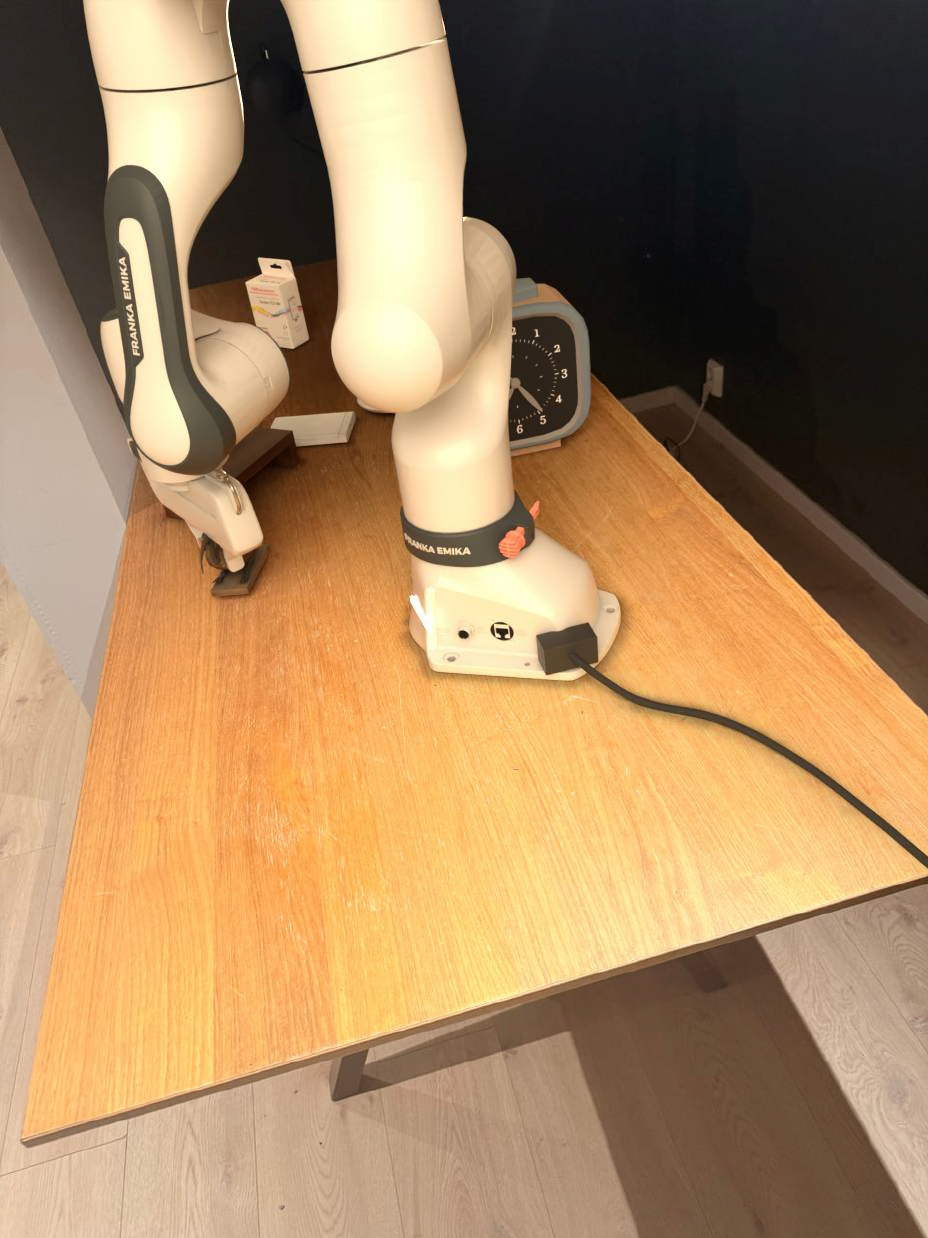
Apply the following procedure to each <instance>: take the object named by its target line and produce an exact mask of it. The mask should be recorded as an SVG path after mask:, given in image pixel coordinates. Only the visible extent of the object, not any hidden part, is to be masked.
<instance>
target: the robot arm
mask: <svg viewBox="0 0 928 1238" xmlns="http://www.w3.org/2000/svg"><path fill="white" fill-rule="evenodd" d="M279 1H280V3H281V5H282V6H283V8H284V11H285V14H286V17H287V19H288V21H289V25H290V28H291V32H292V35H293V39H294V42H295V47H296V52H297V55H298V58H299V63H300V67H301V71H302V72H303V73H302V76H303V78H304V83H305V85H306V90H307V94H308V98H309V101H310V106H311V109H312V112H313V113H312V114H313V117H314V120H315V121H314V122H315V126H316V128H317V131H318V137H319V140H320V144H321V148H322V152H323V157H324V160H325V164H326V168H327V173H328V179H329V184H330V191H331V198H332V206H333V218H334V233H335V249H336V250H335V251H336V268H337V292H338V293H337V308H336V309H337V310H336V314H335V320H334V323H333V329H332V334H331V340H330V341H331V342H330V349H331V358H332V362H333V364H334V367H335V370H336V373H337V374H338V377H339V378H340V380H341V381H342V383H343V384H344V386H345V387H346V388H347V389H348V390H349V392H351V394H353V396H355V397H356V399H357V398H358V399H360V400H361V401H362V402H364V403H365V404H367V405H369V406H371V407H373V408H375V409H378V410H381V411H385V412H391V413H390V414H394V420H393V423H392V427H391V438H390V439H391V448H392V454H393V461H394V466H395V471H396V477H397V483H398V487H399V488H398V489H399V494H400V498H401V507H400V510H399V516H400V523H401V529H402V536H403V541H404V545H405V548H406V550H407V551H408V552H409V556H410V569H411V582H412V583H411V587H412V588H411V595H410V596H409V598H410V604H411V606H410V614H409V619H408V630H409V633H410V635H411V637H412V639H413V640H414V641H415V643H416V644H417V645H418V646H419V647H420V648H421V649H422V650H423V651H424V653H425V657H426V662H427V664H428V668H429V669H430V670H431V671H434V672H436V673H447V674H459V675H461V674H462V675H477V676H490V677H506V678H521V679H533V680H534V679H535V680H550V681H563V682H565V681H567V682H568V681H569V682H570V681H571V682H572V681H575V680H578V679H579V678H581V677H584V676H585V675H586V674H588V675H589V676H590V677H592V678H593V679H595V680H596V681H598V682H599V683H600V684H602V685H604V686H605V687H607V688H608V689H609V690H611V691H612V692H614V693H615V694H617V695H619V696H620V697H622V698H623V699H626V700H627V701H630V702H632V703H634V704H637V705H639V706H642V707H645V708H648V709H651V710H655V711H660V712H664V713H668V714H669V713H670V714H675V715H681V716H686V717H687V716H688V717H693V718H698V719H702V720H707V721H710V722H713V723H716V724H719V725H721V726H724V727H728V728H730V729H732V730H734V731H736V732H739V733H741V734H743V735H745V736H747V737H750V738H751V739H754V740H755V741H757V742H759V743H761V744H763V745H764V746H766V747H768V748H769V749H771V750H773V751H774V752H776V753H778V754H779V755H781V756H782V757H784V758H786V759H787V760H788V761H790V762H792V763H793V764H796V765H797V766H798V767H800V768H801V769H803V770H805V771H806V772H808V773H809V774H810V775H812V776H813V777H815V778H816V779H818V780H819V781H820V782H822V783H823V784H824V785H826V786H827V787H828V788H830V789H831V790H832V791H833V792H835V793H836V794H837V795H838V796H839V797H840V798H843V800H844V801H846V802H847V803H848V804H850V805H851V806H852V807H853V808H855V809H856V811H858V812H859V813H861V814H862V815H863V816H864V817H866V818H867V819H868V820H869V821H871V822H872V823H873V824H874V825H875V826H877V827H878V828H879V829H880V830H881V831H883V832H884V833H885V834H887V836H889V837H890V838H891V839H892V840H894V841H895V842H896V843H897V844H898V845H900V846H901V847H902V848H903V849H904V850H905V851H906V852H907V853H908V854H910V855H911V856H912V857H913V858H914V859H915V860H916V861H918V862H919V863H920V864H921V865H923V866H924V867H925V868H926V869H928V855H927V854H926V853H925V852H924V851H922V850H921V849H920V848H919V847H918V846H916V845H915V844H914V843H913V842H912V841H911V840H910V839H908V838H907V837H906V836H905V835H904V834H903V833H901V832H900V831H899V830H898V829H896V828H895V827H894V826H893V825H892V824H891V823H890V822H888V821H887V820H886V819H884V818H883V817H882V816H880V815H879V814H878V813H877V812H876V811H874V810H873V809H872V808H870V807H869V806H868V805H867V804H865V803H864V802H863V801H862V800H860V799H859V798H858V797H857V796H855V795H854V794H853V793H851V791H849V790H848V789H847V788H845V787H844V786H843V785H842V784H840V783H839V782H838V781H837V780H835V779H834V778H832V777H831V776H830V775H828V774H826V772H824V771H823V770H822V769H820V768H818V767H817V766H816V765H814V764H813V763H811V762H810V761H809V760H807V759H805V758H804V757H802V756H801V755H798V753H795V752H794V751H792V750H790V749H789V748H787V747H786V746H784V745H782V744H781V743H779V742H777V741H776V740H774V739H772V738H771V737H769V736H767V735H765V734H764V733H761V732H759V731H757V730H756V729H754V728H752V727H749V726H747V725H745V724H743V723H740V722H738V721H736V720H733V719H731V718H728V717H726V716H723V715H720V714H718V713H715V712H710V711H706V710H702V709H698V708H691V707H686V706H680V705H673V704H668V703H664V702H658V701H655V700H652V699H648V698H645V697H642V696H639V695H637V694H634V693H633V692H631V691H629V690H627V689H626V688H624V687H622V686H621V685H619V684H617V683H616V682H614V681H613V680H611V679H610V678H608V677H607V676H606V675H604V674H603V673H601V672H600V671H598V670H597V669H596V668H595V667H597V666H598V665H599V664H600V663H601V662H602V661H603V659H604V658H605V656H606V655H607V654H608V652H609V651H610V649H611V648H612V646H613V645H614V643H615V640H616V639H617V636H618V635H619V634H618V633H619V631H620V627H621V623H622V611H621V610H622V609H621V605H620V601H619V599H618V597H617V596H616V595H615V594H614V593H612V592H608V591H606V590H602V589H599V588H598V586H597V582H596V579H595V575H594V572H593V570H592V568H591V566H590V565H589V563H588V562H587V560H585V559H583V558H582V557H581V556H579V555H578V554H576V553H574V552H573V551H571V550H570V549H568V547H565V546H564V545H563V544H561V543H560V542H558V541H557V540H555V539H553V538H552V537H551V536H549V535H548V534H546V533H545V532H544V531H542V530H541V529H539V528H538V527H536V526H535V520H536V518H537V517H538V515H539V514H540V512H541V511H540V510H541V508H539V507H540V501H539V500H537V501H536V502H534V504H533V505H532V507H531V508H530V509H527V507H526V506H525V504H524V502H523V500H522V499H521V497H520V496H519V494H518V492H517V490H516V489H515V484H514V475H513V464H512V457H511V452H510V441H509V427H508V407H509V390H510V374H511V352H512V306H513V296H514V289H515V282H516V279H517V262H516V257H515V255H514V252H513V249H512V247H511V246H510V244H509V242H508V240H507V239H506V238H505V236H504V235H503V234H502V233H501V232H500V231H499V230H498V229H497V228H496V227H494V226H493V225H492V224H490V223H488V222H486V221H484V220H481V219H478V218H474V217H470V216H464V182H465V181H464V180H465V169H466V164H467V157H468V153H467V142H466V136H465V131H464V125H463V119H462V114H461V110H460V104H459V99H458V94H457V93H458V92H457V87H456V82H455V78H454V77H455V76H454V72H453V66H452V61H451V55H450V51H449V46H448V45H449V44H448V40H447V39H448V38H447V37H446V34H447V33H446V30H445V24H444V21H443V15H442V9H441V5H440V1H439V0H279ZM82 4H83V12H84V19H85V25H86V32H87V38H88V43H89V49H90V53H91V60H92V64H93V68H94V72H95V77H96V80H97V85H98V89H99V93H100V97H101V103H102V106H103V112H104V118H105V125H106V135H107V148H108V149H107V150H108V170H107V171H108V173H107V181H106V182H107V183H106V186H105V192H104V201H103V221H104V222H103V223H104V233H105V241H106V247H107V255H108V262H109V269H110V275H111V283H112V288H113V294H114V295H113V296H114V300H115V307H114V308H112V309H110V310H109V311H108V312H107V313H105V315H104V316H103V318H102V320H101V322H100V330H99V332H100V340H101V346H102V351H103V354H104V359H105V362H106V366H107V368H108V372H109V375H110V377H111V380H112V382H113V386H114V389H115V391H116V392H117V393H116V394H117V396H118V398H119V399H120V401H121V403H122V405H123V416H124V421H125V425H126V428H127V430H128V434H129V436H130V437H127V439H126V442H127V445H128V448H129V450H130V453H131V454H132V455H133V456H134V457H135V458H136V459H137V460H139V463H140V466H141V468H142V471H143V472H144V475H145V477H146V480H147V481H148V484H149V485H150V487H151V490H152V492H153V493H154V495H155V497H156V498H157V499H158V501H159V502H160V503H161V504H162V506H163V505H164V506H166V507H167V508H169V509H170V510H172V511H173V512H174V513H176V514H177V515H178V516H180V517H181V518H183V519H184V520H183V521H184V522H185V523H186V525H187V527H188V528H189V530H190V532H191V533H192V535H193V536H194V538H195V540H196V543H197V546H198V548H199V549H201V545H202V540H203V538H202V534H203V533H205V534H206V535H207V536H208V537H209V538H210V539H212V540H213V541H215V542H216V543H217V544H219V545H220V547H221V548H223V553H224V555H222V559H223V561H224V564H225V567H226V568H228V569H229V570H230V571H232V572H236V571H238V570H240V569H242V568H243V567H244V560H243V557H242V555H244V554H246V553H248V552H250V551H252V550H254V549H256V548H257V547H259V546H261V545H263V542H264V534H263V530H262V527H261V525H260V522H259V519H258V517H257V514H256V511H255V509H254V505H253V504H252V501H251V499H250V497H249V495H248V493H247V491H246V489H245V487H244V486H243V485H241V483H240V482H239V481H237V480H236V479H234V478H233V477H231V476H230V475H228V474H227V473H226V472H224V471H223V470H222V466H223V465H224V464H225V463H226V461H227V460H228V458H229V453H230V452H231V451H232V450H233V449H234V447H235V445H236V444H238V443H239V442H240V441H241V440H242V439H243V438H244V437H245V436H246V435H248V434H249V433H250V432H251V431H252V430H253V429H254V428H255V427H259V425H260V424H261V423H262V422H263V420H264V419H266V418H267V417H268V416H269V415H270V414H272V412H273V411H274V410H275V409H277V407H278V406H279V405H280V403H281V402H282V401H283V400H284V399H285V398H286V397H287V395H288V393H289V389H290V387H291V386H290V385H291V373H290V368H289V363H288V360H287V358H286V355H285V354H284V351H283V350H282V347H280V346H279V345H278V344H277V342H276V341H275V340H274V339H273V338H272V337H271V336H270V335H269V334H268V333H267V332H265V331H264V330H263V329H261V328H259V327H257V326H256V324H253V323H251V322H246V321H230V320H225V319H222V318H217V317H214V316H210V315H207V314H204V313H202V312H199V311H197V310H194V309H192V306H191V305H192V304H191V298H190V297H191V296H190V289H189V280H188V279H189V278H188V274H189V273H188V271H189V261H190V255H191V252H192V249H193V245H194V242H195V240H196V237H197V236H198V233H199V231H200V229H201V227H202V226H203V223H204V221H205V220H206V218H207V217H208V215H209V213H210V211H211V210H212V208H213V206H215V204H216V202H217V201H218V200H219V198H220V197H221V196H222V195H223V193H224V192H225V191H226V189H227V188H228V187H229V186H230V184H231V183H232V181H233V179H234V177H235V176H236V174H237V172H238V170H239V168H240V166H241V164H242V160H243V158H244V149H245V148H244V147H245V118H244V117H245V115H244V106H243V99H242V94H241V89H240V82H239V77H238V72H237V71H238V70H237V66H236V65H237V64H236V61H235V56H234V55H235V54H234V50H233V45H232V40H231V33H230V26H229V4H230V0H82ZM164 506H163V507H164ZM208 545H209V544H207V546H208ZM207 546H206V548H207ZM206 548H205V551H204V553H206Z"/></svg>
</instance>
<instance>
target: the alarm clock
mask: <svg viewBox="0 0 928 1238" xmlns="http://www.w3.org/2000/svg"><path fill="white" fill-rule="evenodd" d="M590 347H591V345H590V337H589V329H588V326H587V325H586V322H585V319H584V317H583V316H582V315H581V313H579V311H578V310H576V308H575V307H574V306H573V305H572V304H571V303H570V302H569V301H568V300H567V299H566V298H565V297H564V296H563V294H561V293H560V292H559V291H558V290H557V289H556V288H554V287H552V286H551V285H548V284H546V283H536V282H535V281H534V280H533V279H532V278H531V277H524V278H523V277H522V278H516V282H515V289H514V296H513V306H512V352H511V374H510V390H509V407H508V427H509V441H510V452H511V458H512V457H517V456H521V455H526V454H530V453H537V452H541V451H545V450H551V449H555V448H556V449H557V448H559V447H560V448H561V447H562V443H561V441H562V440H561V439H564V438H567V437H569V436H572V435H573V434H574V433H576V432H577V430H579V429H580V428H581V427H582V426H583V425H584V423H585V422H586V420H587V418H588V416H589V412H590V411H591V410H590V409H591V406H592V374H591V370H592V369H591V348H590Z"/></svg>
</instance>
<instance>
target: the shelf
mask: <svg viewBox="0 0 928 1238" xmlns="http://www.w3.org/2000/svg"><path fill="white" fill-rule="evenodd" d="M300 463H301V460H300V455H299V451H298V447H296V443H295V439H294V435H293V431H291V430H282V429H272V428H271V427H261V426H257V427H255V428H254V429H253V430H252V431H251V432H250V433H249V434H248V435H246V436H245V437H244V438H243V439H242V440H241V441H240V442H239V443H238V444H236V445H235V447H234V449H233V450H232V451H231V452H230V453H229V458H228V460H227V461H226V463H225V464H224V465H223V466H222V470H223V471H224V472H226V473H227V474H228V475H230V476H231V477H233V478H234V479H236V480H237V481H239V482H240V483H241V485H242V486H243V485H244V484H245V483H247V482H248V481H249V480H250V479H251V478H252V477H254V476H255V475H256V474H257V473H258V472H260V471H261V470H262V469H263V468H264V467H265V466H267V465H275V466H281V467H290V468H295V467H296V466H298V465H299V464H300ZM162 506H163V509H164V512H165V515H166V517H167V518H170V519H175V520H182V521H185V520H184V519H183V518H181V517H180V516H178V515H177V514H176V513H174V512H173V511H172V510H170V509H169V508H167V507H166V506H164V505H163V504H162Z"/></svg>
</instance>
